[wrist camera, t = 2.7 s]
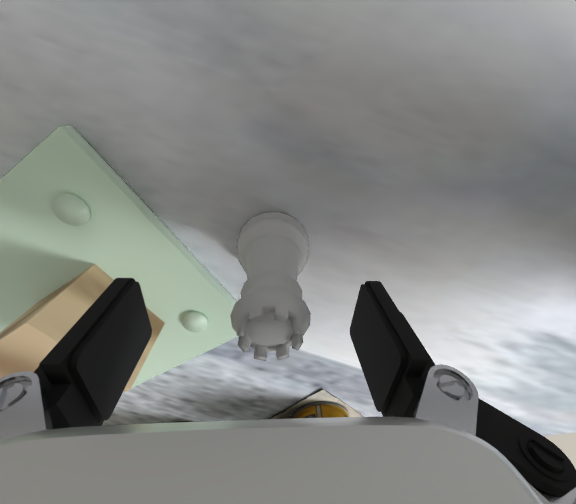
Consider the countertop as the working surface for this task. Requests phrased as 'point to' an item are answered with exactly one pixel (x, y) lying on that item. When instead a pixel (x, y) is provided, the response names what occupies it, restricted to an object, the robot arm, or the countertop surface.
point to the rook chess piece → (271, 285)
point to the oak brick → (59, 324)
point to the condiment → (318, 408)
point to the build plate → (102, 248)
